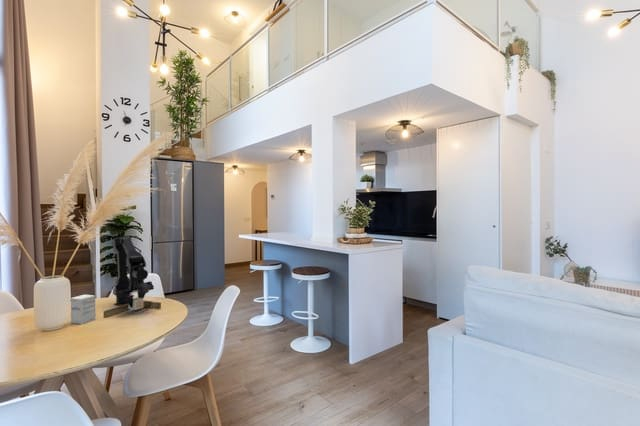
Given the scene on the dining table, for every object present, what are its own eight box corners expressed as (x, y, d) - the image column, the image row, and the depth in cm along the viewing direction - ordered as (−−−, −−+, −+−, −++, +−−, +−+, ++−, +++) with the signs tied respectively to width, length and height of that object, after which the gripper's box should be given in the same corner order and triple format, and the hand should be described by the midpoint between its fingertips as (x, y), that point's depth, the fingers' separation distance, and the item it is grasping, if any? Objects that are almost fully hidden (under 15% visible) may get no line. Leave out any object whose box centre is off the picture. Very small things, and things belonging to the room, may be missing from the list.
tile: (124, 312, 168) (124, 312, 168) (137, 308, 175) (137, 307, 175) (134, 314, 165) (134, 313, 165) (147, 309, 173) (147, 309, 173)
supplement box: (70, 323, 153) (69, 297, 153) (85, 318, 160) (85, 294, 160) (81, 324, 151) (80, 298, 151) (96, 319, 158) (95, 294, 158)
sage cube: (135, 310, 167) (135, 300, 167) (128, 309, 169) (128, 299, 169) (143, 307, 172) (143, 298, 172) (136, 306, 173) (136, 297, 173)
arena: (103, 317, 161) (103, 311, 161) (141, 305, 181) (141, 299, 181) (125, 321, 155) (125, 314, 155) (162, 308, 175) (162, 302, 175)
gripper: (130, 282, 159) (130, 312, 159) (160, 275, 176) (161, 302, 176) (115, 280, 163) (115, 310, 163) (146, 274, 180) (146, 300, 180)
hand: (136, 305), depth 170 cm, fingers closed on sage cube, 5 cm apart
